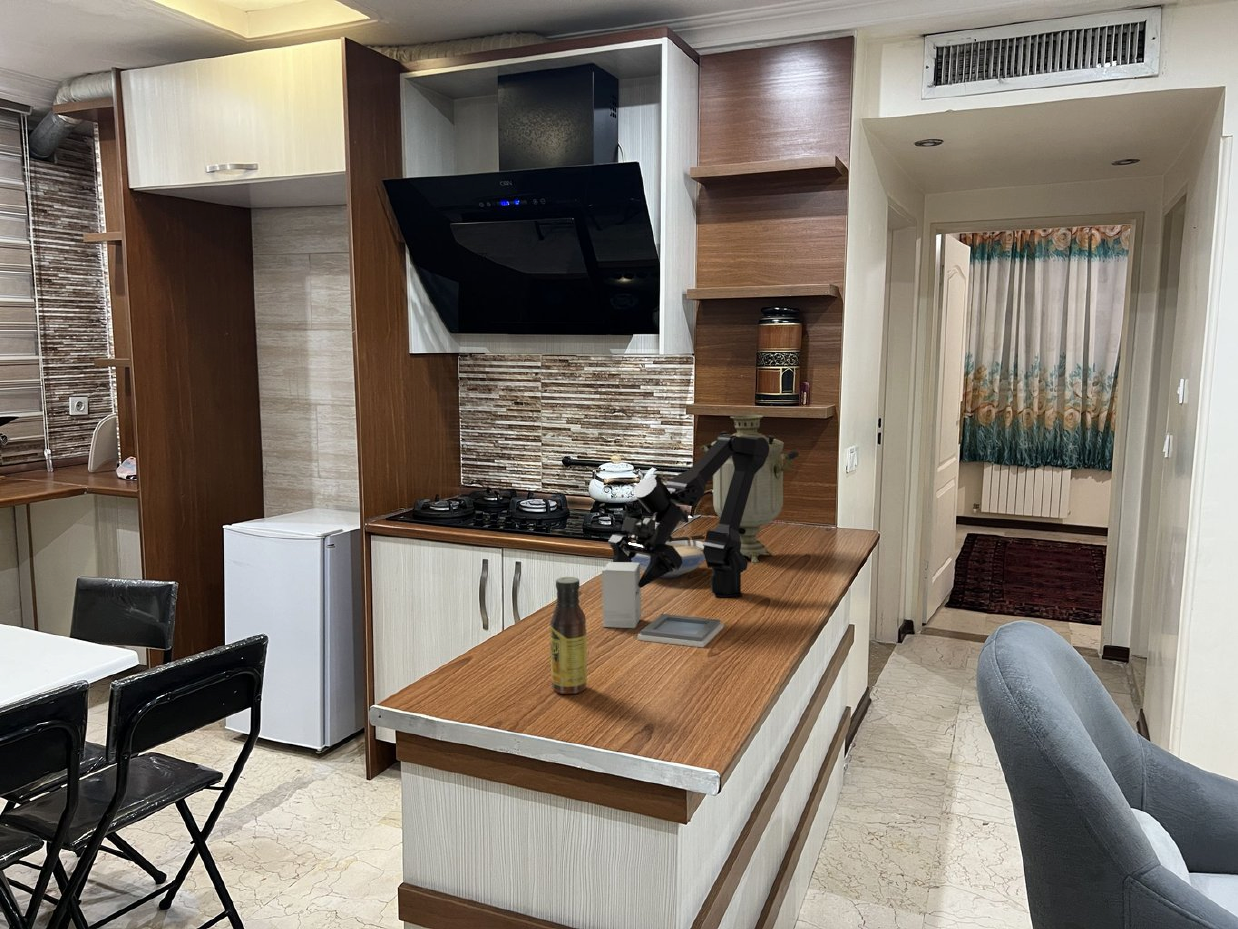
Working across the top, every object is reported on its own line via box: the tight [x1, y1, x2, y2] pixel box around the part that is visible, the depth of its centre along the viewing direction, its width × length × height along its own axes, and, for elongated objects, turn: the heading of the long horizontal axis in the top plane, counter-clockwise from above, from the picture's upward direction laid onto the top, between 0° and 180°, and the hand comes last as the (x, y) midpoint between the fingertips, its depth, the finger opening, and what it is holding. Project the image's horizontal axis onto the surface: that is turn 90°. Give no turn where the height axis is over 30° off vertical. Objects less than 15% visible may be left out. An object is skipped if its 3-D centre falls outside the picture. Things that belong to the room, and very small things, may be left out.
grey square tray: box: [637, 613, 724, 648], centre depth 193 cm, size 14×14×2 cm
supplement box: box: [601, 561, 642, 629], centre depth 200 cm, size 7×7×13 cm
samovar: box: [699, 414, 800, 564], centre depth 261 cm, size 30×26×40 cm
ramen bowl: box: [631, 534, 706, 579], centre depth 243 cm, size 25×23×8 cm
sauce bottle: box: [549, 576, 588, 695], centre depth 161 cm, size 7×6×20 cm
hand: (624, 582), depth 200 cm, fingers open, 9 cm apart
